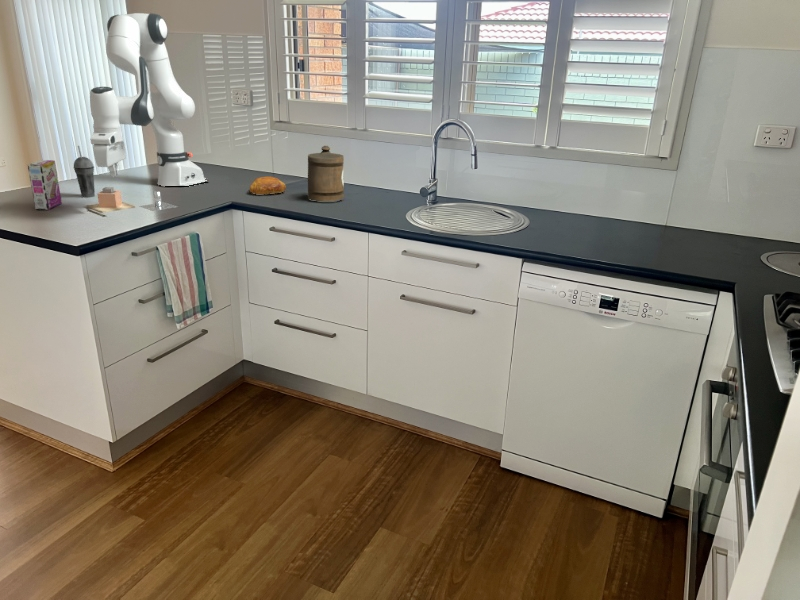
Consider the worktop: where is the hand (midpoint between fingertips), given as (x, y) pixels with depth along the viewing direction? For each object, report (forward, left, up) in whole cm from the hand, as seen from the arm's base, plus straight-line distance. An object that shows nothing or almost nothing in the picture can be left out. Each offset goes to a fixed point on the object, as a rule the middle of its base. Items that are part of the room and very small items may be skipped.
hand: (114, 175), depth 214 cm
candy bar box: (+15, -23, -13) cm, 31 cm away
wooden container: (-71, +35, -13) cm, 80 cm away
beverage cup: (-3, -31, -13) cm, 34 cm away
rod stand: (-11, +8, -13) cm, 19 cm away
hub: (+2, -2, -13) cm, 13 cm away
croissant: (-61, +9, -14) cm, 63 cm away
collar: (+2, -2, -11) cm, 11 cm away
